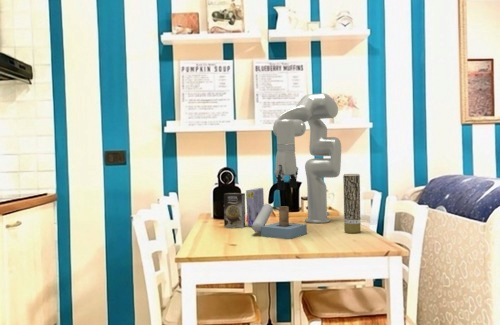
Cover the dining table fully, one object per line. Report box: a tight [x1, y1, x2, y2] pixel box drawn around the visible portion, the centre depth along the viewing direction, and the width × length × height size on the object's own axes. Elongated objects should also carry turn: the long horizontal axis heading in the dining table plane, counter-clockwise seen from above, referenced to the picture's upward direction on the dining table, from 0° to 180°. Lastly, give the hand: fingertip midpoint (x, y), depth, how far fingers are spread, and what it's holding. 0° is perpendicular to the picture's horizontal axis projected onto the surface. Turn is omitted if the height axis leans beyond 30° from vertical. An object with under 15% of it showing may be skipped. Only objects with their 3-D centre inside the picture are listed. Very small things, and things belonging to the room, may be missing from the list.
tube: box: [251, 203, 274, 234], centre depth 205 cm, size 5×5×25 cm
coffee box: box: [223, 192, 246, 229], centre depth 219 cm, size 9×6×16 cm
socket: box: [260, 221, 308, 240], centre depth 195 cm, size 14×14×4 cm
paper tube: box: [342, 173, 362, 234], centre depth 198 cm, size 7×7×25 cm
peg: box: [278, 205, 290, 227], centre depth 195 cm, size 4×4×12 cm
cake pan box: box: [245, 187, 265, 228], centre depth 226 cm, size 19×5×18 cm, turn 165°
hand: (287, 188), depth 196 cm, fingers open, 9 cm apart
